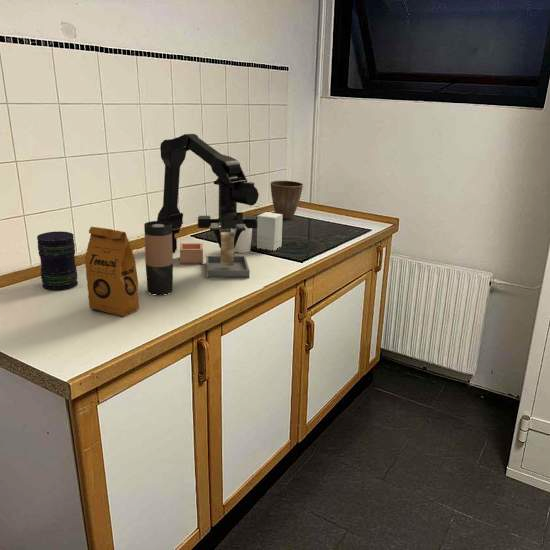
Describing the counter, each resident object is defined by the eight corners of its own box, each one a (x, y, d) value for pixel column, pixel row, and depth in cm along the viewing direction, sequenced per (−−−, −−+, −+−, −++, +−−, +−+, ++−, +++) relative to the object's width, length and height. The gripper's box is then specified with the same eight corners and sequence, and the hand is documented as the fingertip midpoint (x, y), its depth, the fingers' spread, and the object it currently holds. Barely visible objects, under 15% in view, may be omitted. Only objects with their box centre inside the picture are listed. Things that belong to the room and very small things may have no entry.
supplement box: (282, 246, 204) (283, 214, 199) (273, 251, 197) (275, 217, 193) (264, 243, 207) (265, 211, 202) (256, 248, 200) (257, 215, 196)
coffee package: (120, 321, 135) (115, 237, 127) (83, 311, 140) (76, 229, 132) (146, 308, 143) (142, 228, 136) (110, 298, 148) (104, 221, 141)
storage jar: (41, 281, 159) (36, 232, 154) (76, 277, 163) (72, 230, 158) (42, 292, 150) (36, 241, 145) (79, 289, 154) (75, 239, 149)
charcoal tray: (207, 278, 167) (207, 270, 166) (206, 262, 181) (206, 255, 180) (249, 277, 169) (249, 270, 168) (244, 262, 183) (245, 255, 182)
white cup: (253, 248, 200) (253, 222, 197) (250, 254, 193) (250, 227, 189) (232, 246, 201) (232, 220, 197) (228, 252, 193) (228, 226, 190)
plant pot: (299, 214, 256) (301, 181, 251) (302, 221, 242) (304, 186, 237) (268, 213, 255) (269, 180, 250) (269, 221, 241) (271, 185, 236)
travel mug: (178, 288, 158) (176, 222, 151) (165, 297, 151) (163, 228, 144) (155, 284, 160) (153, 219, 153) (141, 293, 153) (138, 225, 146)
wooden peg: (221, 265, 172) (221, 235, 169) (220, 261, 176) (220, 232, 173) (233, 265, 173) (234, 235, 169) (232, 261, 176) (233, 232, 173)
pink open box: (180, 264, 179) (179, 249, 177) (180, 257, 186) (180, 243, 184) (202, 263, 180) (202, 249, 178) (202, 257, 187) (202, 243, 186)
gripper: (198, 205, 158) (198, 255, 164) (260, 206, 161) (258, 255, 166) (197, 197, 169) (197, 245, 174) (256, 198, 172) (254, 245, 177)
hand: (227, 247), depth 173 cm, fingers closed on wooden peg, 4 cm apart
